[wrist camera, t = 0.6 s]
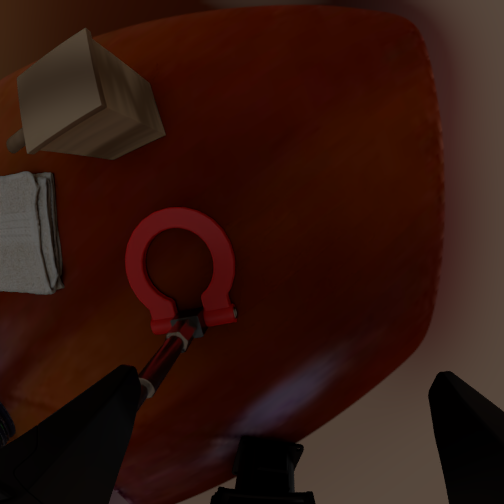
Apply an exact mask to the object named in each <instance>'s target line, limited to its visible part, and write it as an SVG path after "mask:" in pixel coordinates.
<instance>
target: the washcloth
mask: <svg viewBox="0 0 504 504" xmlns="http://www.w3.org/2000/svg"><path fill="white" fill-rule="evenodd" d="M61 275H62V254H61V245H60V239H59V232H58V227H57V213H56V199H55V186H54V178H53V174H52V173H51V172H49V173H47V172H44V173H38V174H32V173H30V172H28V171H25V172H21V173H17V174H12V175H7V176H0V291H6V292H8V291H9V292H20V293H22V292H23V293H24V292H28V293H35V294H46V295H47V294H52V293H55V291H56V289H60V288H64V284H63V283H62V282H61V279H60V276H61Z"/></svg>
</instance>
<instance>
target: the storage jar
mask: <svg viewBox="0 0 504 504" xmlns="http://www.w3.org/2000/svg"><path fill="white" fill-rule="evenodd" d="M14 434H15V426H14V423H13V421H12V419H11V417H10V415H9V413H8V412H7V410H6V409H5V407H4V406H3V405H2V404H1V402H0V448H1V447H3V446H5V445H6V444H7V441H8V440H9V439H10V437H12V436H13V435H14Z"/></svg>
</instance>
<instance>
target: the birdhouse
mask: <svg viewBox="0 0 504 504" xmlns="http://www.w3.org/2000/svg"><path fill="white" fill-rule="evenodd" d="M17 85H18V95H19V104H20V112H21V119H22V126H23V128H21V129H20V130H19V131H18V132H16V133H15V134H14V135H13V136H12V137H10V138H9V139H8V140H7V148H8V150H9V151H10V152H11V153H16V152H17V151H19V150H20V149H21V148H23V147H24V146H25V145H26V149H27V154H35V153H36V152H38V151H39V150H44V151H52V152H60V153H68V154H76V155H83V156H90V157H97V158H104V159H110V160H114V159H116V158H118V157H120V156H122V155H124V154H126V153H128V152H131V151H133V150H135V149H137V148H139V147H141V146H143V145H145V144H147V143H149V142H152V141H154V140H156V139H158V138H160V137H163V136H165V135H166V134H165V131H164V128H163V125H162V122H161V118H160V115H159V112H158V109H157V106H156V103H155V99H154V96H153V93H152V90H151V86H150V83H149V82H147V81H146V80H145V79H144V78H142V77H141V76H140V75H139V74H137V73H136V72H135V71H134V70H132V69H131V68H130V67H128V66H127V65H126V64H125V63H123V62H122V61H121V60H119V59H118V58H117V57H115V56H114V55H113V54H111V53H110V52H109V51H108V50H106V49H105V48H104V47H102V46H101V45H100V44H98V43H97V42H95V41H94V40H93V39H92V37H91V32H90V31H88V30H87V29H86V28H85V29H83V30H81V31H80V32H78V33H77V34H75V35H74V36H72V37H71V38H69V39H68V40H66V41H65V42H63V43H62V44H60V45H59V46H58V47H56V48H55V49H54V50H52V51H51V52H50V53H48V54H47V55H45V56H44V57H43V58H41V59H40V60H39V61H37V62H36V63H35V64H33V65H32V66H31V67H30V68H28V69H27V70H26V71H25V72H24V73H22V74H21V75H20V76H19V77H18V78H17Z"/></svg>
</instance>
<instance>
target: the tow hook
mask: <svg viewBox="0 0 504 504" xmlns="http://www.w3.org/2000/svg"><path fill="white" fill-rule="evenodd" d="M170 228H182V229H186V230H189V231H191V232H193V233H195V234H196V235H198V236H199V237H200V238H201V239H202V240H203V241H204V242H205V243H206V245H207V247H208V248H209V250H210V252H211V255H212V259H213V270H214V271H213V276H212V280H211V282H210V284H209V286H208V288H207V289H206V290H205V291H204V292H203V293H202V295H201V300H202V304H203V307H202V308H196V309H191V310H185V311H180V312H178V311H177V307H176V304H175V301H174V300H173V299H172V298H170V297H167V296H166V295H164V294H162V293H161V292H159V291H158V290H157V289H156V287H155V286H154V285H153V284H152V282H151V280H150V279H149V277H148V273H147V270H146V261H145V259H146V253H147V249H148V247H149V245H150V243H151V242H152V240H153V239H154V238H155V237H156V236H157V235H158V234H160V233H161V232H163V231H164V230H167V229H170ZM125 267H126V274H127V277H128V281H129V284H130V286H131V288H132V290H133V291H134V293H135V295H136V296H137V298H138V299H139V300H140V301H141V302H142V303H143V304H144V305H145V306H146V307H147V308H148V309H149V310H150V313H151V317H152V319H151V329H152V331H153V333H154V334H155V335H159V334H166V333H167V335H166V339H165V342H164V344H163V345H162V346H161V347H160V348H159V350H158V351H157V352H156V353H155V355H154V356H153V357H152V358H151V360H150V361H149V362H148V363H147V365H146V366H145V367H144V368H143V370H142V371H141V372H140V373H139V374H138V377H139V380H140V383H141V394H140V399H139V403H138V407H137V411H138V410H139V408H140V407H141V405H142V404H143V402H144V401H145V399H146V398H151V397H152V396H153V395H154V394H155V392H156V391H157V389H158V388H159V386H160V384H161V383H162V381H163V380H164V378H165V377H166V375H167V374H168V372H169V370H170V369H171V367H172V366H173V364H174V363H175V361H176V360H177V358H178V357H179V355H180V353H184V352H186V350H187V349H188V347H189V346H190V344H191V342H192V340H193V339H194V338H198V337H203V336H204V334H205V332H206V330H207V329H208V327H210V326H216V325H222V324H227V323H233V322H237V310H236V308H235V305H234V304H233V303H232V304H231V301H230V298H229V294H228V293H229V291H230V289H231V287H232V284H233V280H234V276H235V272H236V271H235V255H234V251H233V248H232V244H231V241H230V240H229V238H228V236H227V235H226V233H225V231H224V230H223V228H222V227H221V226H220V225H219V224H218V223H217V222H216V221H215V220H214V219H213V218H211V217H209V216H208V215H206V214H204V213H202V212H201V211H199V210H195V209H191V208H187V207H168V208H164V209H161V210H158V211H155V212H153V213H152V214H150V215H149V216H147V217H146V218H144V219H143V220H142V221H141V222H140V223H139V224H138V226H137V227H136V228H135V229H134V231H133V232H132V234H131V237H130V239H129V241H128V243H127V248H126V254H125ZM136 413H137V412H136Z"/></svg>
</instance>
